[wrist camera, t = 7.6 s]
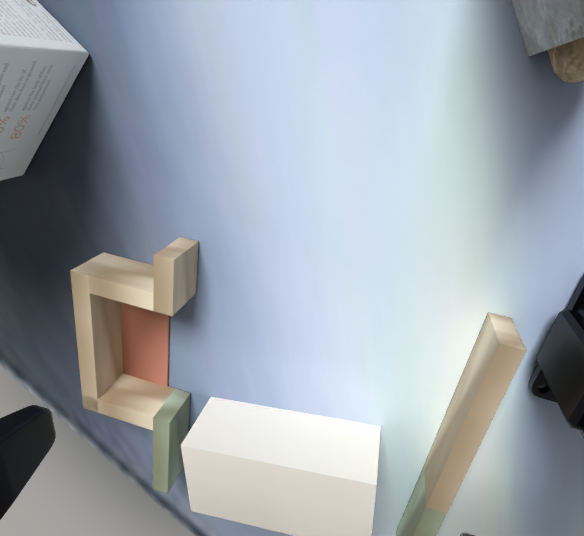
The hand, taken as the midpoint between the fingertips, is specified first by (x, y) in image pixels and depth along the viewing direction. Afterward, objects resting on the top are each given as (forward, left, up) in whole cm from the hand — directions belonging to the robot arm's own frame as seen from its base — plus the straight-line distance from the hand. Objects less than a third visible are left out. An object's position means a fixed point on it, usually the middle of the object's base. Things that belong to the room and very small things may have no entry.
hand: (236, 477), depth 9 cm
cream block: (0, +12, -12) cm, 17 cm away
